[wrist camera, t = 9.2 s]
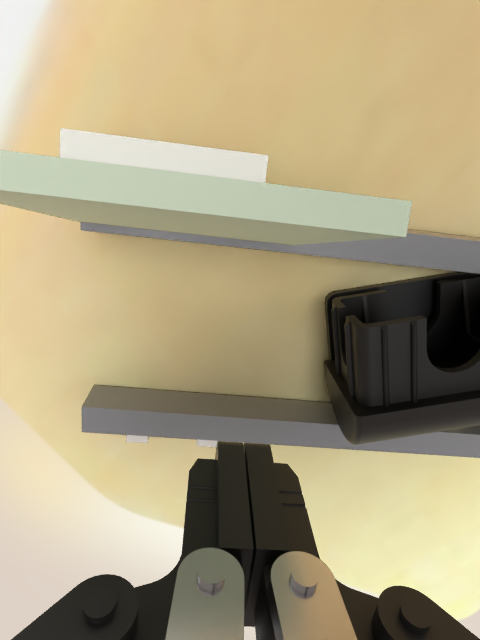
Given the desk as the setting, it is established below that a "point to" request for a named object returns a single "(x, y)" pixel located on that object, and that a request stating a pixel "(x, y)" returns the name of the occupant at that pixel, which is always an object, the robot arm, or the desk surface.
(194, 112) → the desk surface
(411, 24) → the desk surface
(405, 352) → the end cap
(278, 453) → the desk surface
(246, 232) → the lid
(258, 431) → the grey frame
